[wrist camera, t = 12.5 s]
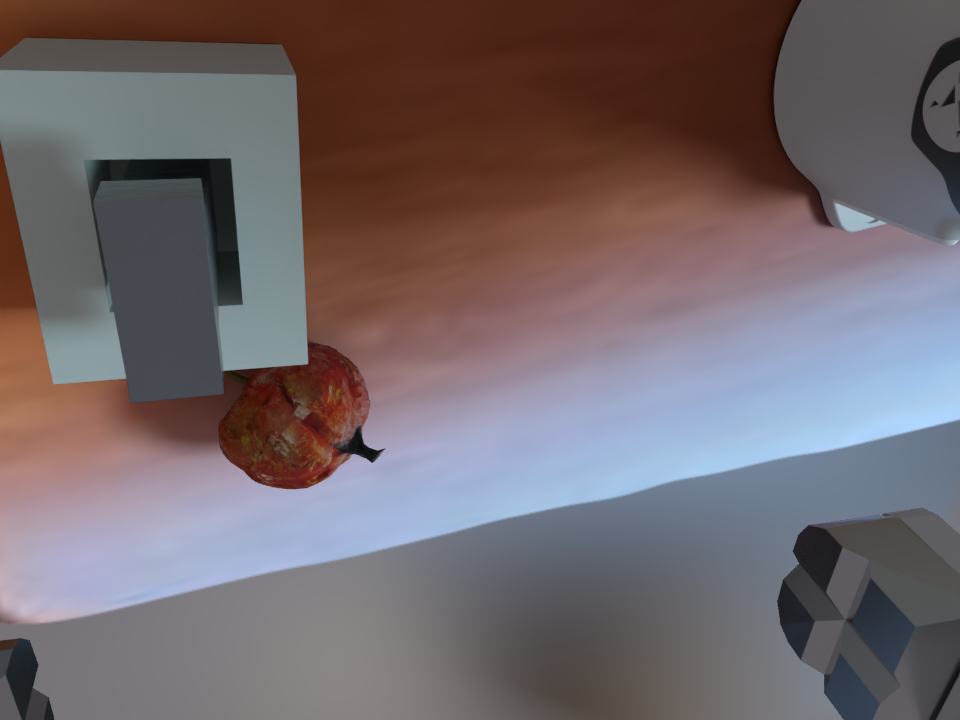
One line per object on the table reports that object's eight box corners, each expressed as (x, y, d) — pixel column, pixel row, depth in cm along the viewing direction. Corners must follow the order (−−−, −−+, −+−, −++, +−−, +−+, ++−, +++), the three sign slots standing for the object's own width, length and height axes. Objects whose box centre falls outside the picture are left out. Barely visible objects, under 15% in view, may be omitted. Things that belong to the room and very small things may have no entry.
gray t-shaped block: (203, 109, 35) (200, 197, 25) (220, 262, 38) (224, 394, 28) (128, 109, 34) (93, 201, 24) (152, 265, 37) (130, 403, 27)
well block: (281, 44, 35) (296, 75, 29) (294, 296, 41) (308, 364, 35) (25, 37, 32) (-16, 69, 27) (77, 309, 38) (53, 384, 32)
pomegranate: (216, 408, 45) (359, 511, 44) (134, 429, 38) (302, 552, 37) (280, 296, 44) (430, 398, 43) (207, 295, 37) (385, 418, 36)
